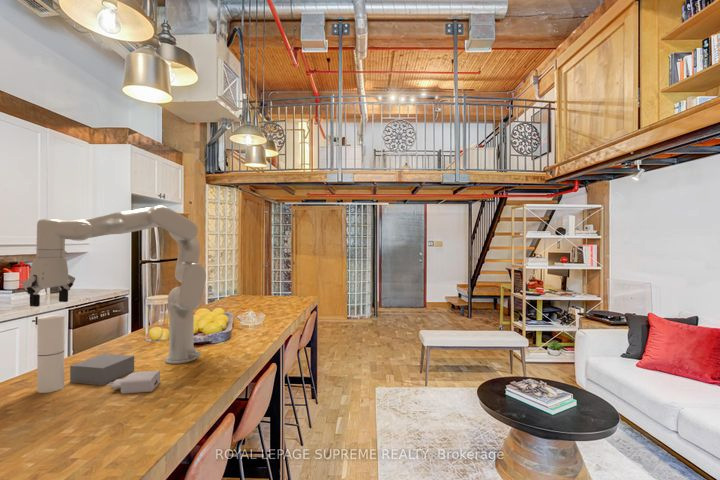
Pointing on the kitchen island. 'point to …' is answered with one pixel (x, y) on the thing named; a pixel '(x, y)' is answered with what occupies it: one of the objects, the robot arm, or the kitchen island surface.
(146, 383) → the charger
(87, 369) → the charcoal block
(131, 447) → the kitchen island surface
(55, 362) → the cylindrical container
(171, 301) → the robot arm
